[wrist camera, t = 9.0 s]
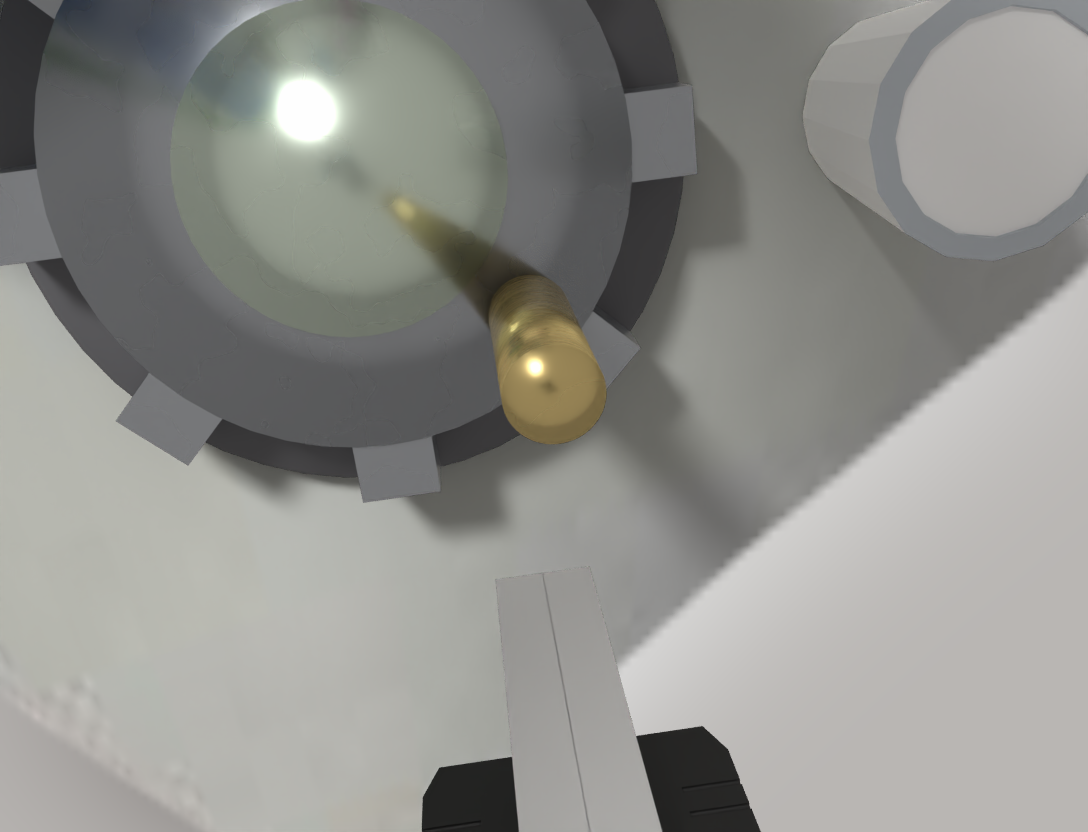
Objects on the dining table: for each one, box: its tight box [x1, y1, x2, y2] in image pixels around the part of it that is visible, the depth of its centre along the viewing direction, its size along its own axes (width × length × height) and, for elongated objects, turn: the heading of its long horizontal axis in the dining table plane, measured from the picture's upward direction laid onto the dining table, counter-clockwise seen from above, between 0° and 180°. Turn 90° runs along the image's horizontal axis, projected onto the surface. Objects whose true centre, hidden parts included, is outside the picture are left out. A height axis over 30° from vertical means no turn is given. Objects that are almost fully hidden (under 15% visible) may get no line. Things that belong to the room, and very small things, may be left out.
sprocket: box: [0, 0, 697, 503], centre depth 25 cm, size 20×20×9 cm
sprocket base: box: [0, 0, 683, 477], centre depth 30 cm, size 20×20×1 cm
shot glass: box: [802, 0, 1088, 261], centre depth 29 cm, size 7×7×7 cm
